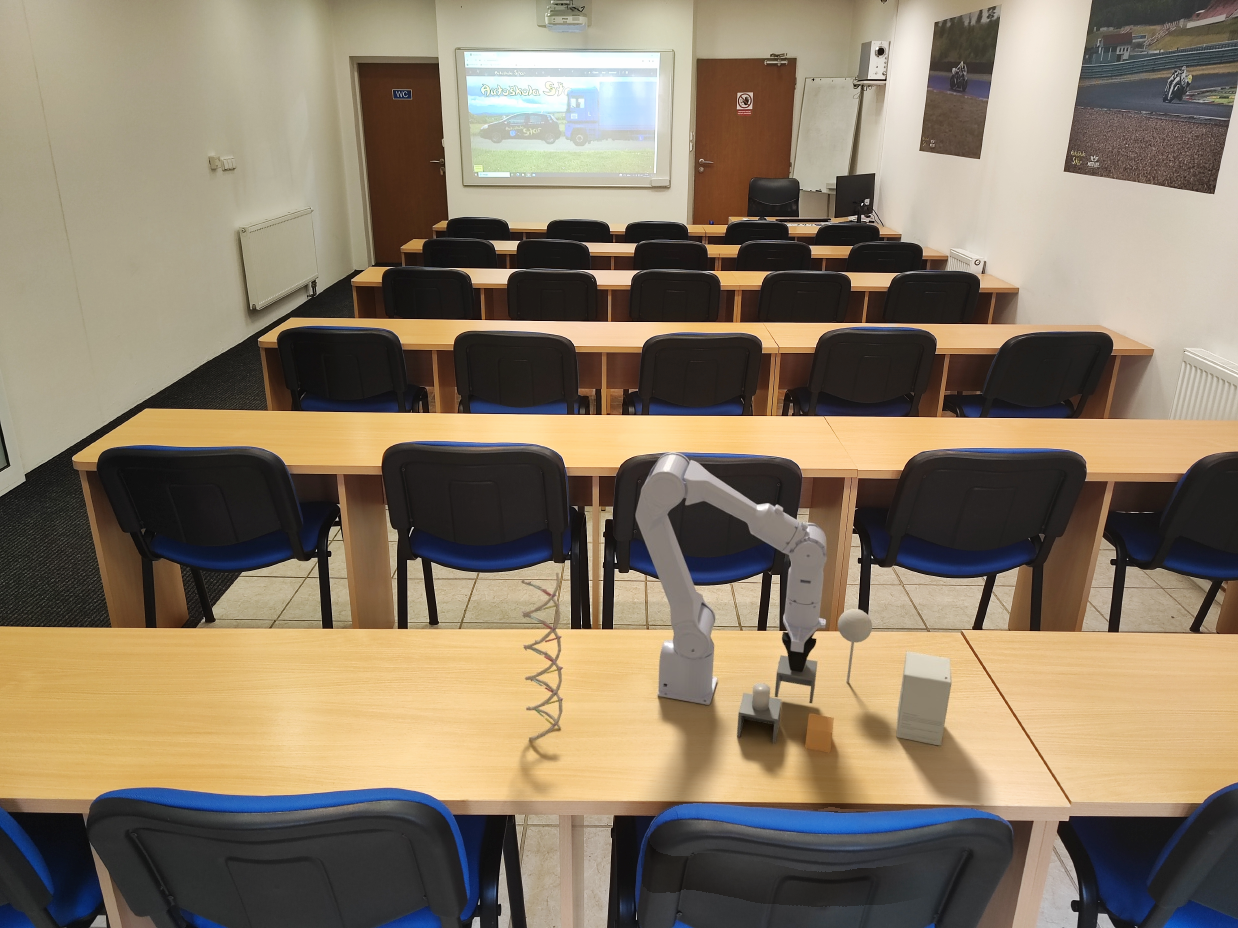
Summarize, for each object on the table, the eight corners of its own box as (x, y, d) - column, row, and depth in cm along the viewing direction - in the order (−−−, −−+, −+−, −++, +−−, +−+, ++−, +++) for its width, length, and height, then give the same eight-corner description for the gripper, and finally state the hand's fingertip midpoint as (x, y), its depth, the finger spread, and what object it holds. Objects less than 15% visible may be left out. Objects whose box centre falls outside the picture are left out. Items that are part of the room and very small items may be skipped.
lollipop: (865, 694, 158) (875, 622, 152) (831, 690, 159) (840, 618, 153) (863, 674, 164) (872, 604, 158) (831, 670, 165) (839, 600, 159)
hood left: (736, 736, 147) (739, 694, 144) (741, 716, 152) (744, 675, 149) (775, 744, 145) (779, 701, 142) (779, 723, 150) (783, 681, 147)
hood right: (774, 696, 153) (778, 654, 150) (778, 679, 158) (782, 637, 155) (812, 703, 151) (816, 660, 148) (815, 685, 156) (819, 643, 153)
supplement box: (941, 720, 152) (952, 657, 147) (941, 747, 145) (952, 683, 140) (896, 710, 154) (906, 649, 149) (894, 737, 147) (904, 673, 143)
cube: (805, 747, 145) (807, 728, 143) (807, 732, 148) (809, 713, 147) (830, 752, 144) (832, 732, 142) (831, 737, 147) (833, 717, 146)
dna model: (534, 751, 143) (528, 590, 132) (519, 728, 149) (513, 571, 137) (571, 739, 146) (569, 580, 135) (556, 717, 151) (552, 562, 140)
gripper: (825, 621, 140) (817, 693, 145) (830, 578, 153) (823, 645, 158) (780, 615, 142) (774, 685, 147) (789, 572, 155) (783, 639, 160)
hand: (797, 664), depth 152 cm, fingers closed on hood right, 3 cm apart
